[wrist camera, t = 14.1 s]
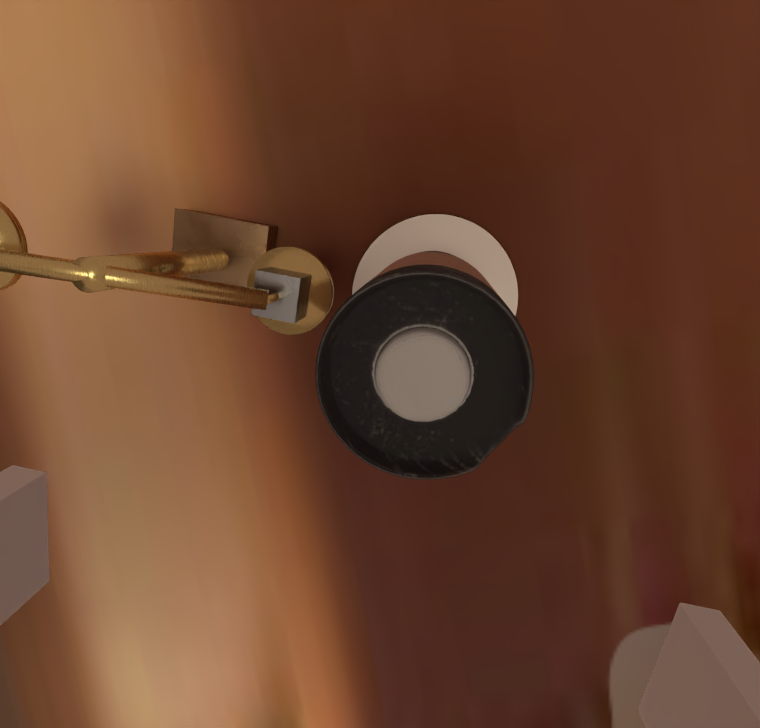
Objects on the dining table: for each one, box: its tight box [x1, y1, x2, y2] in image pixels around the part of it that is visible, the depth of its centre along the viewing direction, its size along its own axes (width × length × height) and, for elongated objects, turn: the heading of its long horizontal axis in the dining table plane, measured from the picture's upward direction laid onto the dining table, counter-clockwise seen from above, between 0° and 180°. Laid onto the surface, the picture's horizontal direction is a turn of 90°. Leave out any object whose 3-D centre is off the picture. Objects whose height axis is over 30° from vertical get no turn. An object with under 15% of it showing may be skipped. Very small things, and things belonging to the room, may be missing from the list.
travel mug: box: [315, 251, 534, 480], centre depth 26 cm, size 8×8×20 cm
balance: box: [0, 202, 334, 335], centre depth 29 cm, size 20×6×18 cm, turn 80°
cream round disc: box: [352, 214, 518, 316], centre depth 36 cm, size 12×12×1 cm
